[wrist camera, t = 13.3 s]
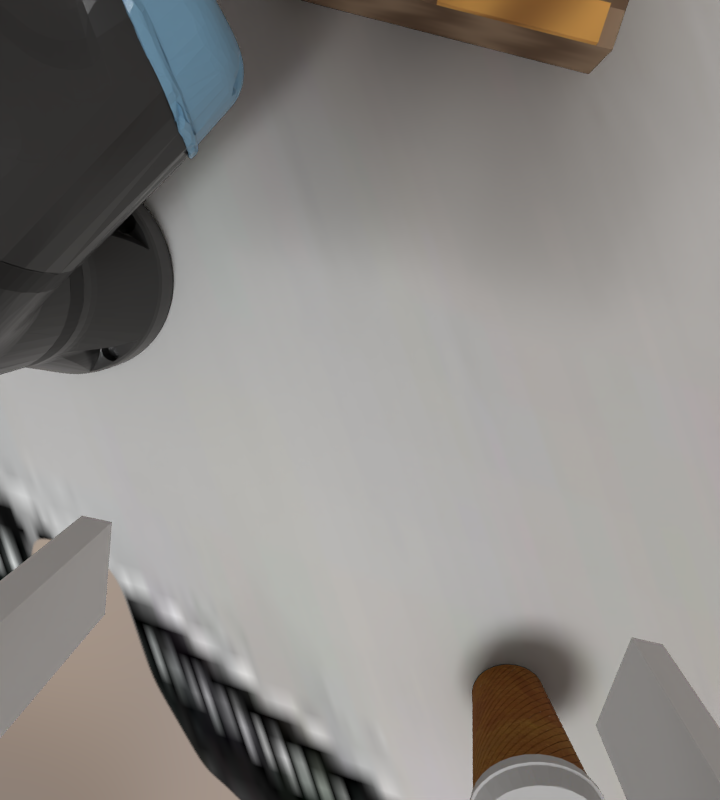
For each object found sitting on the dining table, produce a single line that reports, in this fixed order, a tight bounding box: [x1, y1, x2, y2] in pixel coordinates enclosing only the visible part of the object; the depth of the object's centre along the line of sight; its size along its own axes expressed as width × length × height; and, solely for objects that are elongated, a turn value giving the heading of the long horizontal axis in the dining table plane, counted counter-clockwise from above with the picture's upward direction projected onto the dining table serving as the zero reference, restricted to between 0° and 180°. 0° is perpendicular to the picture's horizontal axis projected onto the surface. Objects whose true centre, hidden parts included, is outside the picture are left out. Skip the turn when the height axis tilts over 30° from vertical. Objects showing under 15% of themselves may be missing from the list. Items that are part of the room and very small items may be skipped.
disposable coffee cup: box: [470, 665, 605, 800], centre depth 41 cm, size 10×10×12 cm
